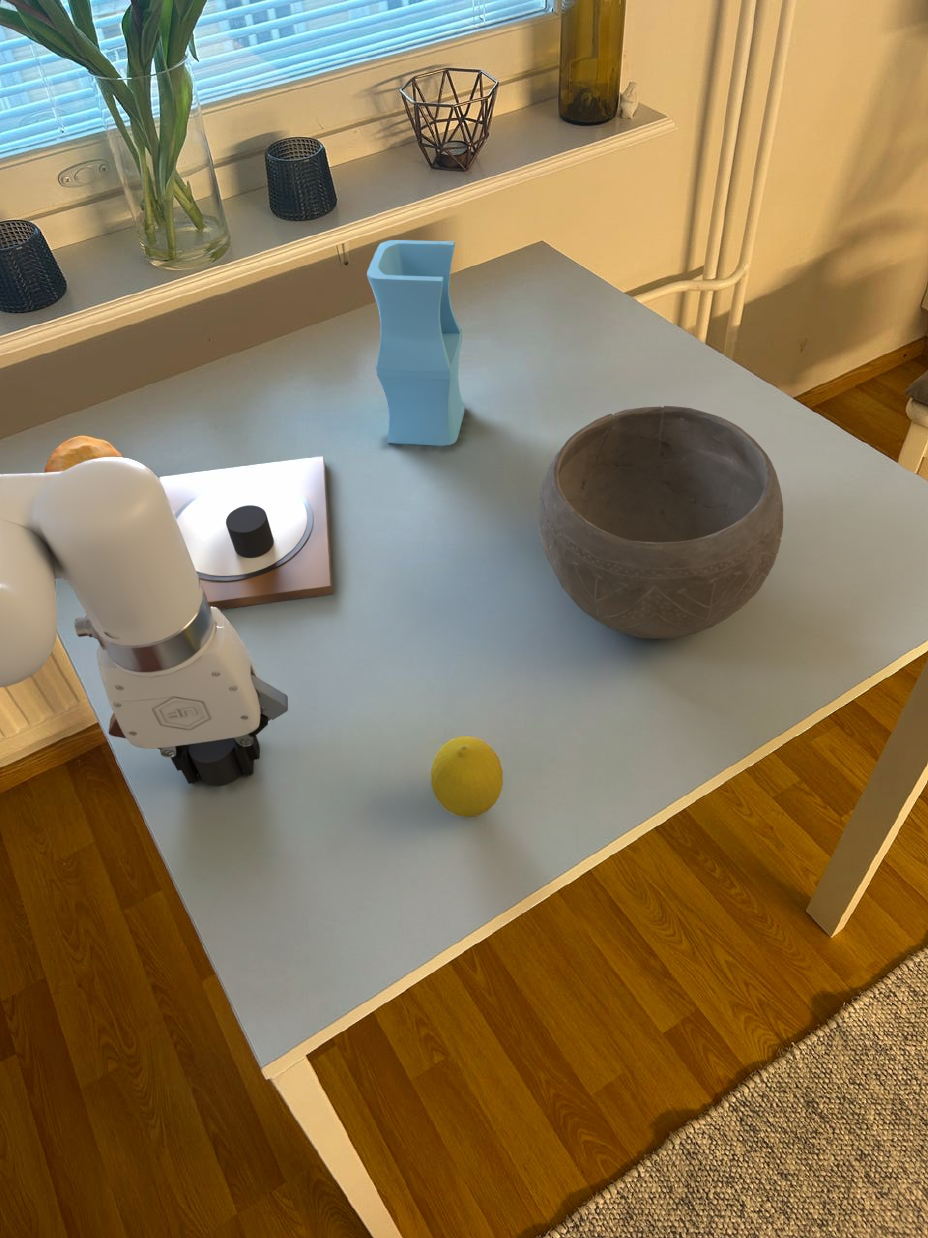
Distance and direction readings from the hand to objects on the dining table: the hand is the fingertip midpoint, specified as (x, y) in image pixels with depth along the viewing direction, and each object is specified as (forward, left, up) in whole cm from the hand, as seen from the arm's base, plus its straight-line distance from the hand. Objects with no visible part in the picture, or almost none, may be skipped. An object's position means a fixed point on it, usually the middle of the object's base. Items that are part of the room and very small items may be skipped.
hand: (221, 763), depth 78 cm
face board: (+1, +28, 0) cm, 28 cm away
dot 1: (0, 0, 0) cm, 0 cm away
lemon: (+20, -7, 0) cm, 21 cm away
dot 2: (+3, +25, +1) cm, 25 cm away
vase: (+22, +43, 0) cm, 48 cm away
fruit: (-15, +37, 0) cm, 40 cm away
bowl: (+40, +13, 0) cm, 42 cm away
